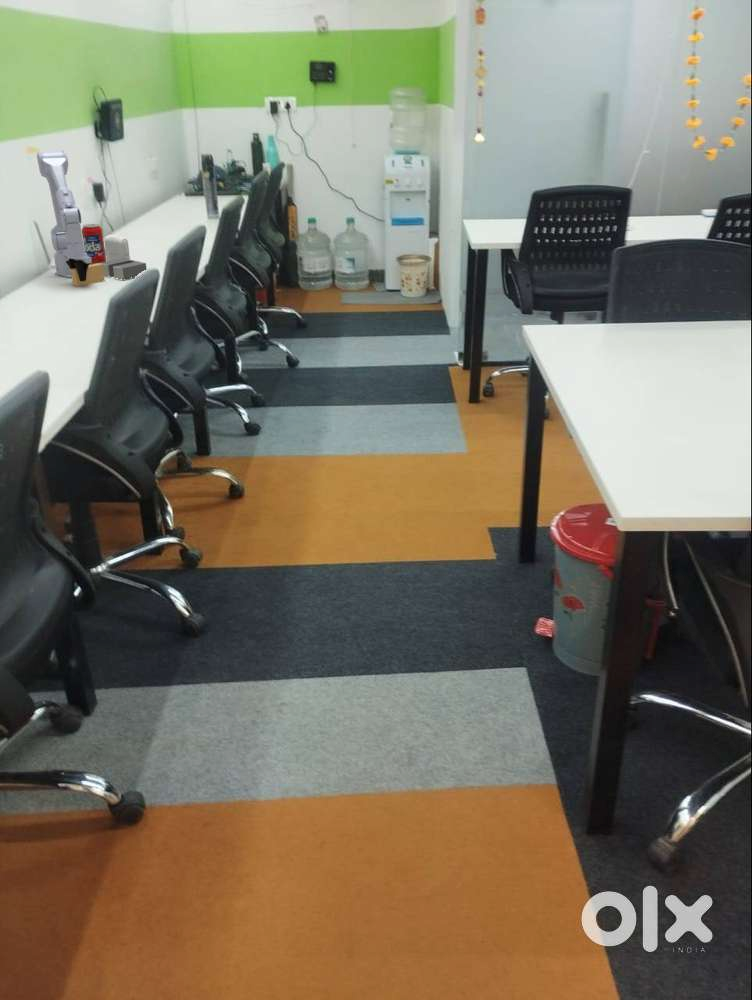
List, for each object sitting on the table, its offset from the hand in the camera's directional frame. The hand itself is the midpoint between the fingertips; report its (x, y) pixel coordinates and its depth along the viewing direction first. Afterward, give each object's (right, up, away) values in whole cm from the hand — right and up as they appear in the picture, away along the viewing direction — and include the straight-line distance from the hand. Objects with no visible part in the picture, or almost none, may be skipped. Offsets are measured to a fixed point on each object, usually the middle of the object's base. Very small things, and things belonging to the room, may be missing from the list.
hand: (80, 280), depth 310 cm
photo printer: (+6, +12, +27) cm, 30 cm away
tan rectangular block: (+2, 0, +3) cm, 4 cm away
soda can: (-5, +15, +32) cm, 35 cm away
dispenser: (+12, +6, +14) cm, 20 cm away
